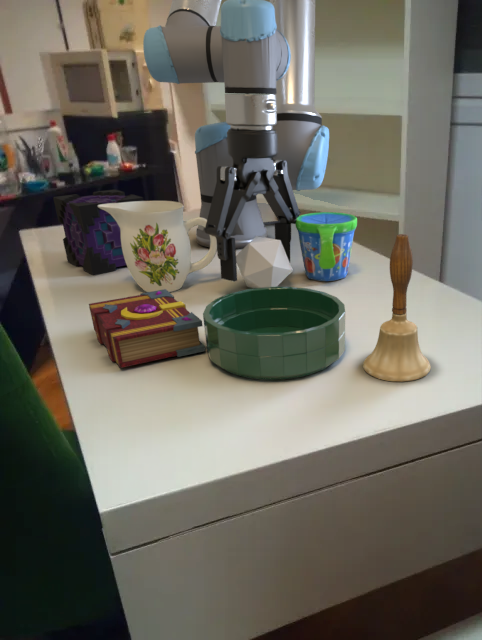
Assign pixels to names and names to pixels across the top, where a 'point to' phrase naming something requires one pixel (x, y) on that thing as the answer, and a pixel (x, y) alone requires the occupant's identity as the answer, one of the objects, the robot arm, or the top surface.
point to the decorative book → (146, 328)
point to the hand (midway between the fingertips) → (257, 270)
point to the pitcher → (157, 242)
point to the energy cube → (92, 230)
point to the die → (263, 263)
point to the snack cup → (326, 244)
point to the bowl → (275, 332)
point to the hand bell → (398, 327)
